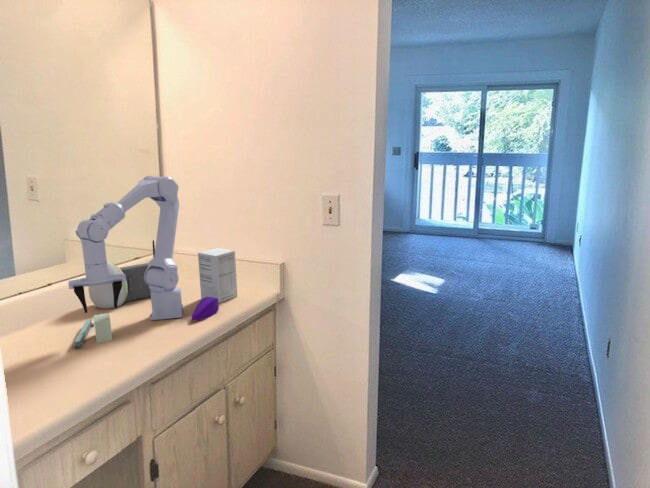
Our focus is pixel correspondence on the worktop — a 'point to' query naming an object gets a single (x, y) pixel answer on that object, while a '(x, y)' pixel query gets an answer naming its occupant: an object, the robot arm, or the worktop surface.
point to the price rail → (83, 334)
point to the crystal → (206, 308)
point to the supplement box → (218, 274)
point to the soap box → (103, 328)
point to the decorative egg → (108, 291)
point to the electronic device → (137, 280)
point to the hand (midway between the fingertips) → (101, 309)
